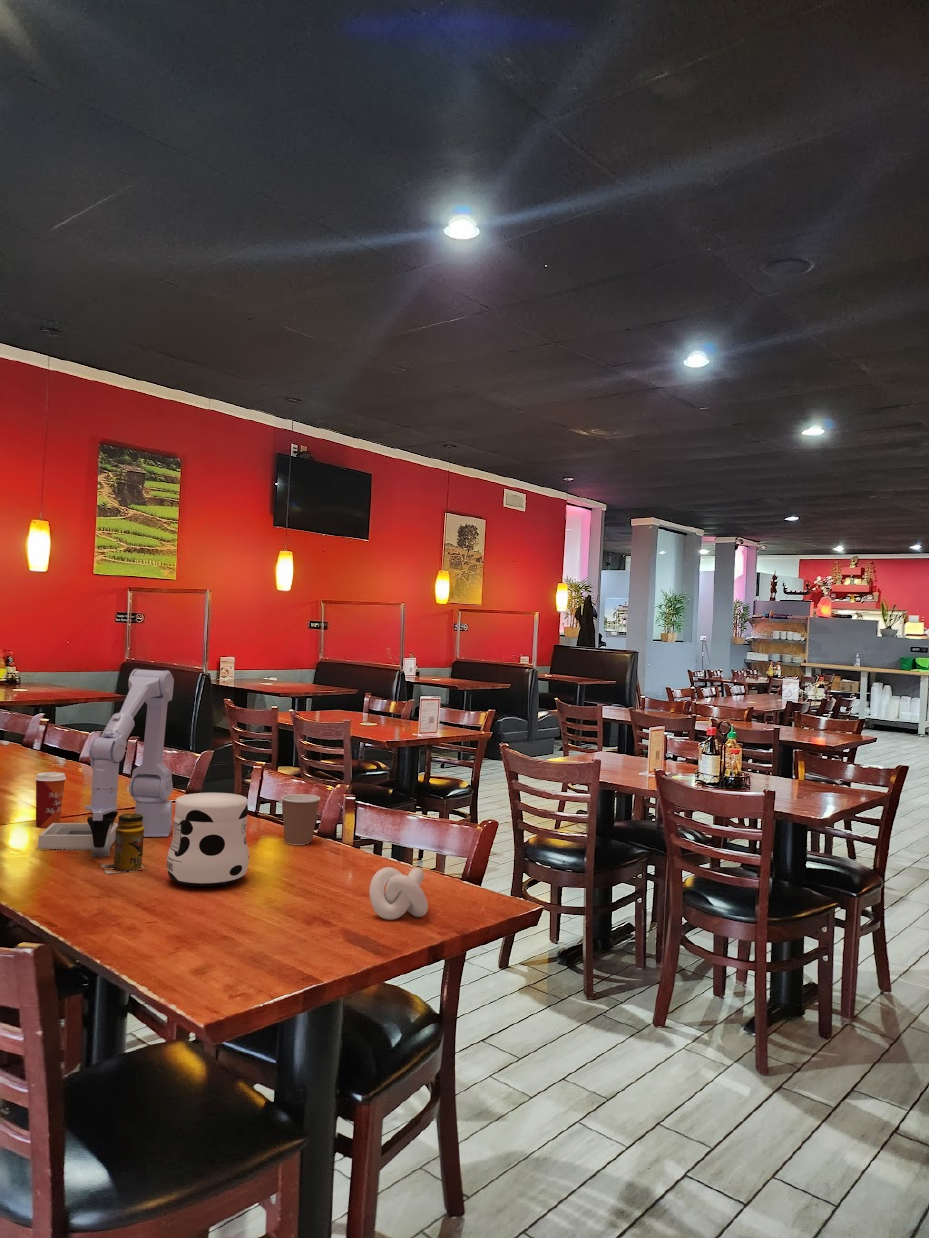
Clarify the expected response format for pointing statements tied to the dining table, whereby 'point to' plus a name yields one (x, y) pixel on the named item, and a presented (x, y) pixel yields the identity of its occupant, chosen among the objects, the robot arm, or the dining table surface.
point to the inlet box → (70, 836)
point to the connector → (106, 849)
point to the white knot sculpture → (397, 893)
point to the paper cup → (49, 798)
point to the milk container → (209, 839)
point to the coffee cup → (299, 817)
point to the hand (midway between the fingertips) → (101, 844)
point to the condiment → (128, 844)
